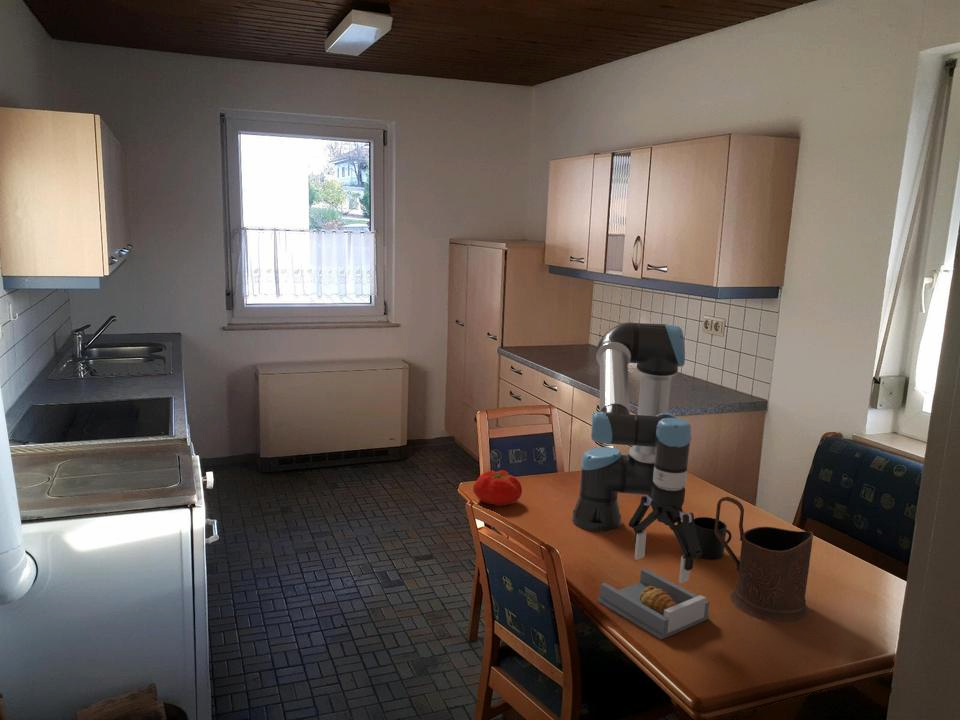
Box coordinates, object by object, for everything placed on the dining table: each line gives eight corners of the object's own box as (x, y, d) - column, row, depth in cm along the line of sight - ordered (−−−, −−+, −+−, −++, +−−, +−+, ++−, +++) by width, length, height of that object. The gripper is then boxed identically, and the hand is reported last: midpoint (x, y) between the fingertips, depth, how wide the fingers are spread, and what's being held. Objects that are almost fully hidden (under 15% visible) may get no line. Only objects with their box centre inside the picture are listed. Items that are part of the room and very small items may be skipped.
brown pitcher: (802, 632, 171) (815, 531, 167) (699, 601, 184) (708, 506, 179) (814, 600, 187) (827, 506, 182) (718, 573, 199) (727, 485, 195)
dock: (597, 601, 182) (599, 578, 180) (644, 584, 191) (646, 562, 190) (661, 639, 166) (663, 615, 165) (708, 618, 175) (711, 595, 174)
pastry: (684, 612, 176) (685, 598, 175) (665, 620, 172) (666, 605, 171) (654, 595, 183) (655, 581, 183) (635, 603, 180) (636, 588, 179)
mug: (738, 559, 208) (741, 529, 207) (698, 561, 206) (701, 530, 204) (721, 545, 217) (724, 516, 216) (683, 546, 215) (686, 517, 214)
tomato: (507, 515, 233) (509, 485, 232) (464, 503, 242) (465, 474, 240) (529, 501, 245) (530, 473, 244) (487, 490, 254) (488, 463, 252)
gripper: (618, 471, 179) (611, 552, 183) (702, 506, 159) (693, 596, 164) (639, 466, 183) (632, 545, 188) (724, 499, 164) (714, 587, 168)
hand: (660, 569), depth 176 cm, fingers open, 13 cm apart
